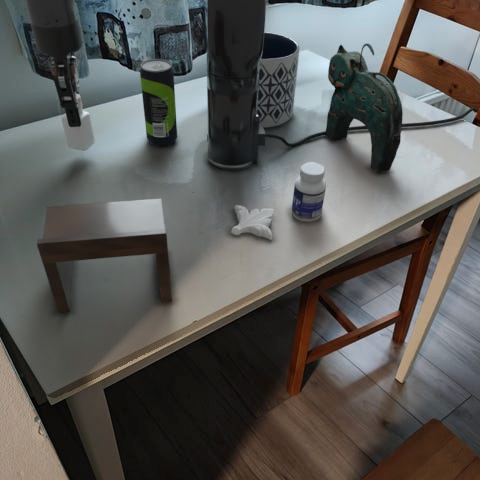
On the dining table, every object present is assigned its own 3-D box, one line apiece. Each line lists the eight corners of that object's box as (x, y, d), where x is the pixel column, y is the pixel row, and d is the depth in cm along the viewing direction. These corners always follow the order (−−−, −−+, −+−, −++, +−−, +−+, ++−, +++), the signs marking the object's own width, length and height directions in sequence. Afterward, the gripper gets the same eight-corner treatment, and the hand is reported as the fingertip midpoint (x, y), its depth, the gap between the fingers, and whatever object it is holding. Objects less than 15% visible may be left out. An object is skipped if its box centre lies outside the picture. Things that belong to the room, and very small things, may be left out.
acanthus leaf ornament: (234, 211, 92) (234, 201, 90) (273, 214, 91) (274, 204, 90) (230, 236, 86) (230, 227, 85) (272, 240, 86) (273, 230, 85)
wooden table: (166, 253, 83) (160, 186, 74) (172, 301, 76) (166, 233, 67) (62, 262, 81) (43, 194, 72) (58, 312, 73) (36, 243, 65)
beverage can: (183, 139, 108) (180, 64, 97) (162, 151, 105) (155, 74, 94) (162, 130, 111) (156, 55, 100) (140, 140, 108) (132, 64, 97)
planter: (207, 113, 117) (206, 44, 106) (253, 91, 125) (256, 26, 115) (262, 137, 110) (266, 66, 100) (306, 113, 118) (315, 45, 108)
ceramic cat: (316, 133, 112) (330, 31, 98) (340, 127, 114) (358, 27, 100) (374, 178, 100) (401, 70, 86) (400, 170, 103) (430, 64, 88)
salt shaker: (96, 142, 101) (86, 93, 95) (85, 152, 99) (74, 103, 92) (78, 139, 102) (67, 90, 95) (67, 148, 100) (55, 99, 93)
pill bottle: (289, 205, 93) (294, 160, 87) (318, 204, 94) (325, 159, 87) (293, 223, 90) (299, 177, 83) (323, 222, 90) (332, 176, 84)
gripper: (75, 31, 80) (96, 136, 92) (79, 2, 90) (97, 100, 102) (24, 34, 79) (52, 139, 91) (33, 4, 89) (57, 103, 101)
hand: (76, 118), depth 97 cm, fingers closed on salt shaker, 5 cm apart
